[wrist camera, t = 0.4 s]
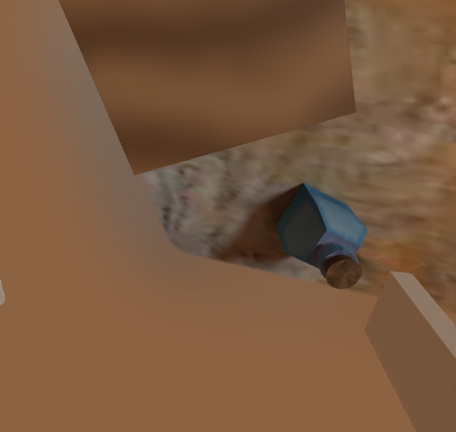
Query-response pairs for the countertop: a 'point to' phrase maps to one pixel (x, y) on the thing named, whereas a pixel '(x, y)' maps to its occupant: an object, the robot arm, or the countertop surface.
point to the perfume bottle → (323, 235)
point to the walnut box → (212, 71)
